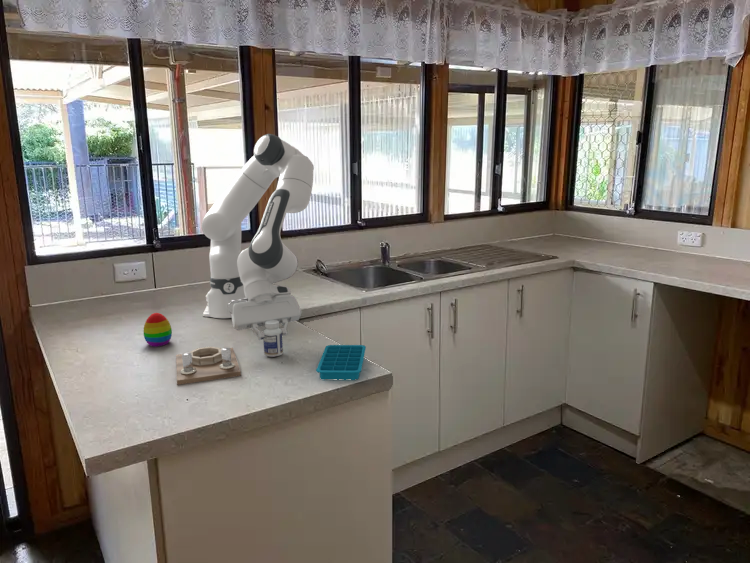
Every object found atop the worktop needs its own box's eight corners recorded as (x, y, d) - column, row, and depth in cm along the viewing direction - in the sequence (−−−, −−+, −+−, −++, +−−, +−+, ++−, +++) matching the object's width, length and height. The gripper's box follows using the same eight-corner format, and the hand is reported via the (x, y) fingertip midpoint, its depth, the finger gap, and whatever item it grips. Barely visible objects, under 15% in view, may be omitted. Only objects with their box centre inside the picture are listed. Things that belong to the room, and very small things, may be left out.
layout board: (176, 358, 161) (175, 348, 160) (233, 351, 166) (232, 341, 166) (177, 384, 143) (176, 373, 142) (240, 375, 148) (240, 364, 147)
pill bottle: (274, 349, 166) (273, 318, 164) (286, 353, 163) (285, 321, 161) (260, 354, 162) (258, 322, 160) (272, 358, 159) (270, 325, 157)
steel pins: (180, 370, 149) (178, 352, 148) (233, 362, 154) (232, 345, 153) (180, 375, 146) (178, 357, 144) (235, 368, 150) (234, 350, 149)
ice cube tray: (316, 382, 144) (315, 371, 143) (326, 354, 163) (326, 344, 163) (361, 382, 143) (360, 371, 142) (366, 354, 163) (366, 345, 162)
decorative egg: (178, 341, 176) (175, 311, 173) (156, 349, 169) (153, 318, 167) (161, 338, 180) (157, 308, 177) (139, 345, 173) (135, 314, 171)
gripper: (227, 295, 160) (239, 337, 154) (295, 286, 169) (308, 325, 163) (225, 306, 164) (236, 348, 158) (290, 297, 174) (303, 336, 168)
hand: (273, 336), depth 161 cm, fingers closed on pill bottle, 5 cm apart
